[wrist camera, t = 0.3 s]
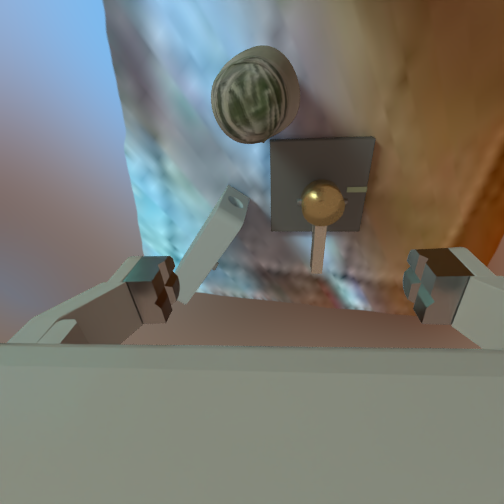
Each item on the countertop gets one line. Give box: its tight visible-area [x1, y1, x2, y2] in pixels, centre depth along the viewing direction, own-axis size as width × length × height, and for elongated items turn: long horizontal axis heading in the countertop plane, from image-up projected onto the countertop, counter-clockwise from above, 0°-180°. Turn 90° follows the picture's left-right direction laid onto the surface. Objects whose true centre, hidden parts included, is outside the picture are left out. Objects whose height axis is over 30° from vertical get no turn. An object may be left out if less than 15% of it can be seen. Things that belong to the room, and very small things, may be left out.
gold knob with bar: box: [296, 179, 348, 274], centre depth 52 cm, size 18×9×4 cm, turn 3°
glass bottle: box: [211, 46, 300, 144], centre depth 36 cm, size 10×10×28 cm
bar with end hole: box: [175, 185, 250, 305], centre depth 58 cm, size 23×6×13 cm, turn 147°
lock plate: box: [270, 136, 375, 232], centre depth 54 cm, size 18×18×6 cm
